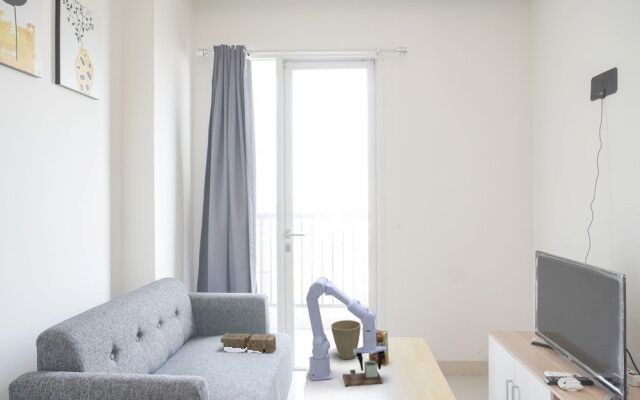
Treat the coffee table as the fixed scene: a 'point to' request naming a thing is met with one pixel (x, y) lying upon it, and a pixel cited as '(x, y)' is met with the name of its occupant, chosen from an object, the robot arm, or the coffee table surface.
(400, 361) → the coffee table surface
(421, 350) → the coffee table surface
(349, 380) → the pin board
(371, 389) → the coffee table surface
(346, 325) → the plant pot
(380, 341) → the candy box
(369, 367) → the sleeve
